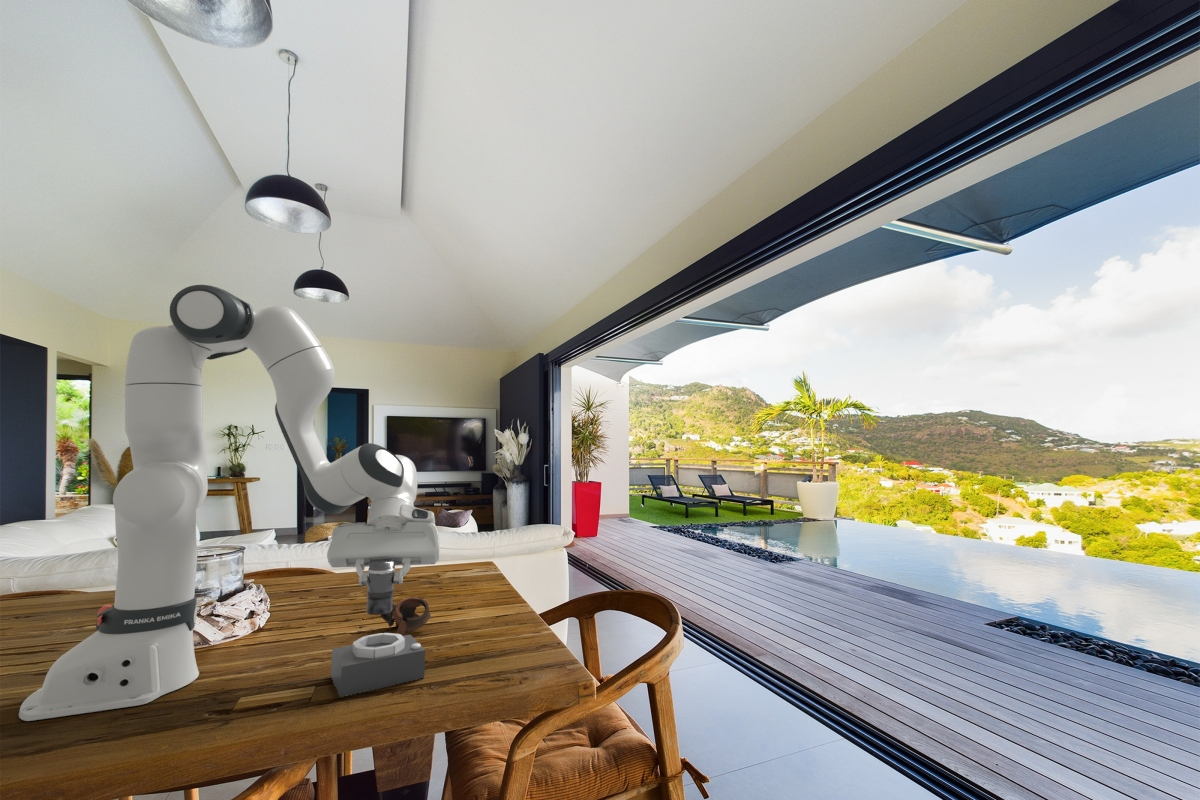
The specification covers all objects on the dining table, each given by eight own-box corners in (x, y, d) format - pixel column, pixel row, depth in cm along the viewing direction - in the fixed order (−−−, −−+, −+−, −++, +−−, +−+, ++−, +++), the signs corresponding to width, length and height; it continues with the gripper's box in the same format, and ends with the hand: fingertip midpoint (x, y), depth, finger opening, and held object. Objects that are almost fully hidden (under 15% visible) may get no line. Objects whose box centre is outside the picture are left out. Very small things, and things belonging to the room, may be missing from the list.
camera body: (340, 697, 89) (342, 657, 90) (330, 677, 98) (332, 640, 98) (424, 678, 97) (425, 641, 98) (409, 660, 105) (410, 626, 106)
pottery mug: (433, 624, 130) (438, 598, 127) (418, 655, 121) (423, 628, 118) (384, 611, 129) (389, 585, 126) (366, 641, 121) (370, 614, 118)
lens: (368, 616, 95) (371, 564, 96) (363, 610, 99) (366, 560, 100) (395, 612, 98) (398, 562, 99) (389, 606, 102) (392, 558, 103)
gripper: (333, 513, 104) (316, 575, 94) (441, 512, 110) (437, 571, 99) (336, 533, 108) (321, 595, 98) (441, 531, 113) (437, 590, 103)
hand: (380, 583), depth 98 cm, fingers closed on lens, 5 cm apart
